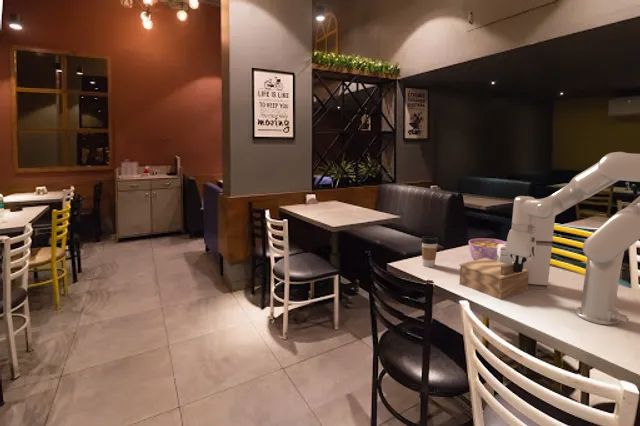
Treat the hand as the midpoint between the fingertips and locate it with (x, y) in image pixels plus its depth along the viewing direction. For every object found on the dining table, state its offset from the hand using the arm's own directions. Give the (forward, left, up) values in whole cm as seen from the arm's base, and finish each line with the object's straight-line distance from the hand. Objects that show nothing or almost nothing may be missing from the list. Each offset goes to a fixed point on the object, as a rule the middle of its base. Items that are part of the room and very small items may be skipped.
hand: (517, 271), depth 149 cm
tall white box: (+5, -17, -10) cm, 20 cm away
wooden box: (+11, 0, -10) cm, 15 cm away
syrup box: (+18, -18, -10) cm, 27 cm away
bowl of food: (+32, -26, -10) cm, 42 cm away
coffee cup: (+47, +1, -10) cm, 48 cm away
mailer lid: (+11, 0, -2) cm, 11 cm away
